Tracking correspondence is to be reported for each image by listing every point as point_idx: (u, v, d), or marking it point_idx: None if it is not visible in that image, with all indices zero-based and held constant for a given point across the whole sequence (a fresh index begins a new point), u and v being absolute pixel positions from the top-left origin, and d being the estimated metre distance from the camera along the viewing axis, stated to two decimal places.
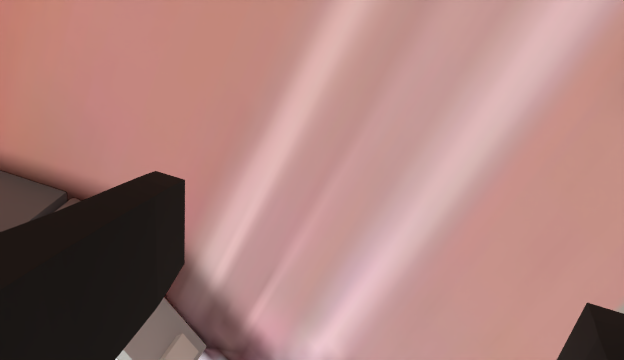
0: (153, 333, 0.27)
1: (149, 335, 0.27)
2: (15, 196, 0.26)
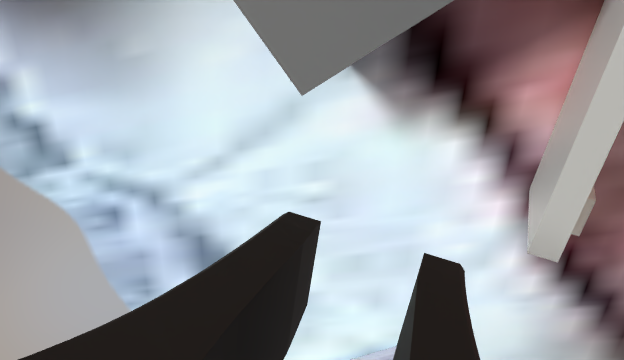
0: None
1: None
2: None
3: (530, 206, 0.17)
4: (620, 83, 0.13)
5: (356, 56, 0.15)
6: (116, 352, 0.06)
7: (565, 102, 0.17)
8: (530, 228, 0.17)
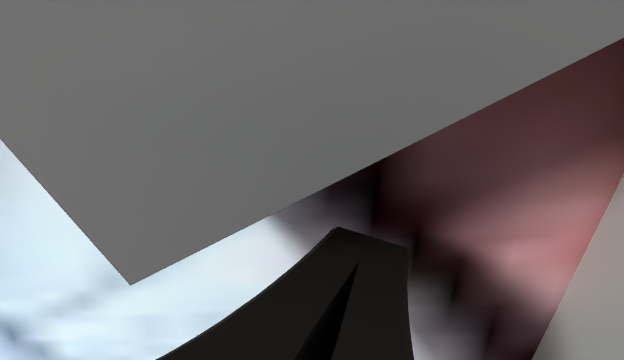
0: None
1: None
2: None
3: None
4: None
5: (206, 238, 0.08)
6: None
7: (575, 280, 0.10)
8: None
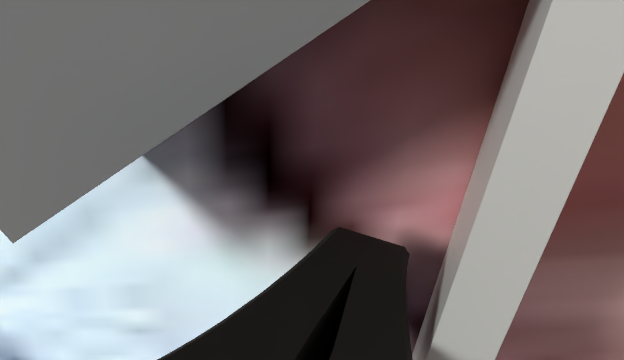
0: None
1: None
2: None
3: None
4: (491, 282, 0.07)
5: (72, 194, 0.09)
6: None
7: (449, 242, 0.11)
8: None
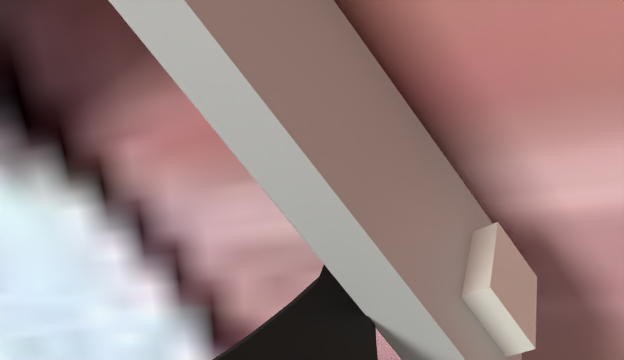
0: (430, 215, 0.09)
1: (424, 218, 0.08)
2: None
3: None
4: (260, 145, 0.07)
5: None
6: None
7: None
8: None
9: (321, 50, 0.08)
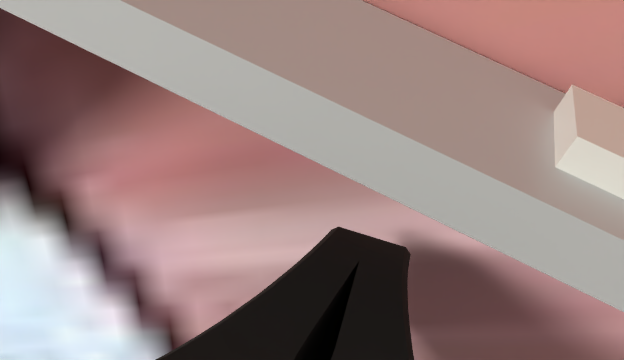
0: (483, 105, 0.08)
1: (474, 109, 0.07)
2: None
3: None
4: (250, 97, 0.07)
5: None
6: None
7: None
8: None
9: (295, 7, 0.08)
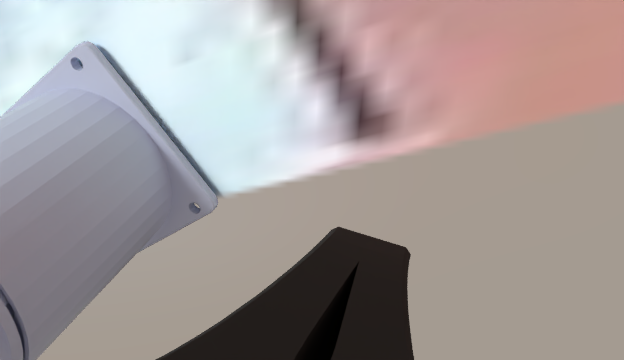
0: None
1: None
2: None
3: None
4: None
5: None
6: None
7: None
8: None
9: None
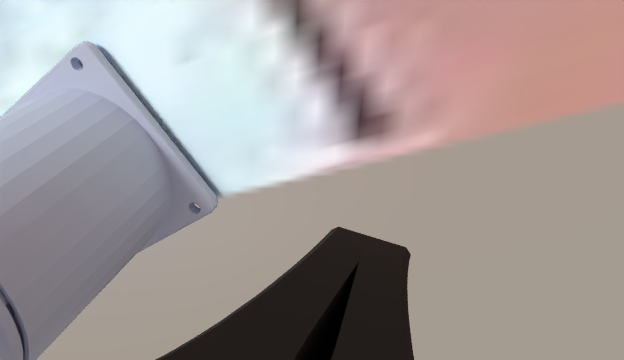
0: None
1: None
2: None
3: None
4: None
5: None
6: None
7: None
8: None
9: None
